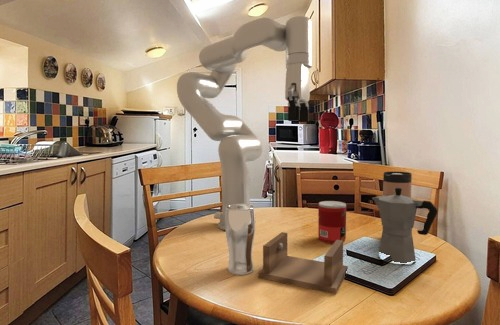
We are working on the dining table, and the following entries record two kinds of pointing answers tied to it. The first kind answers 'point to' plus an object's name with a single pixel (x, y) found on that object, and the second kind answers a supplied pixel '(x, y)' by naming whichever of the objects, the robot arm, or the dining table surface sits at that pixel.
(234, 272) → the beer glass
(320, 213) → the canned food
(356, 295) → the dining table surface
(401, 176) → the travel mug
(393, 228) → the coffeepot
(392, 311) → the dining table surface
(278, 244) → the holder
